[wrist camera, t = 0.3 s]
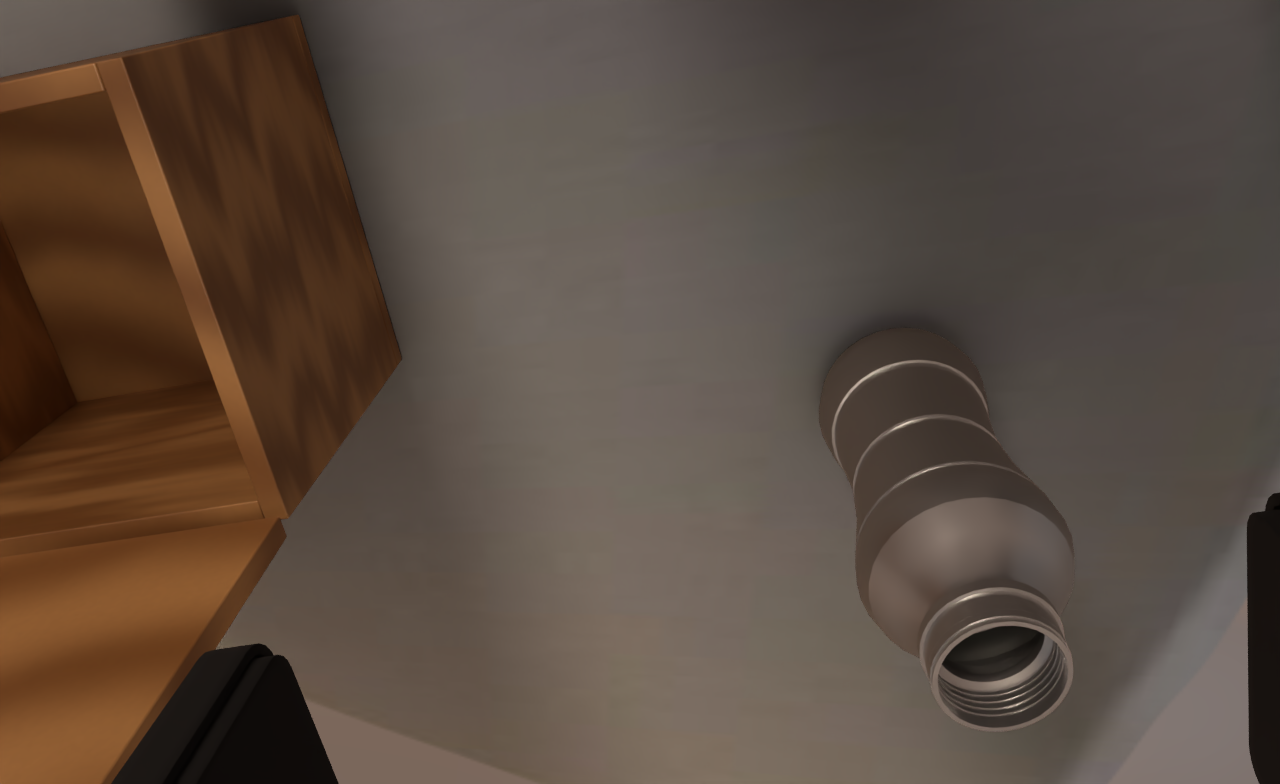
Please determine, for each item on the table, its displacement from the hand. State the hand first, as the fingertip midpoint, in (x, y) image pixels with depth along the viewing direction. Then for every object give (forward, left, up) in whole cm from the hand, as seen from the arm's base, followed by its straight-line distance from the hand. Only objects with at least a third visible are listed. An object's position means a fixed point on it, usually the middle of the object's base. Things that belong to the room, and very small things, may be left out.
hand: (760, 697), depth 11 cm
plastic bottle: (+13, +5, -36) cm, 38 cm away
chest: (+1, -24, -36) cm, 43 cm away
